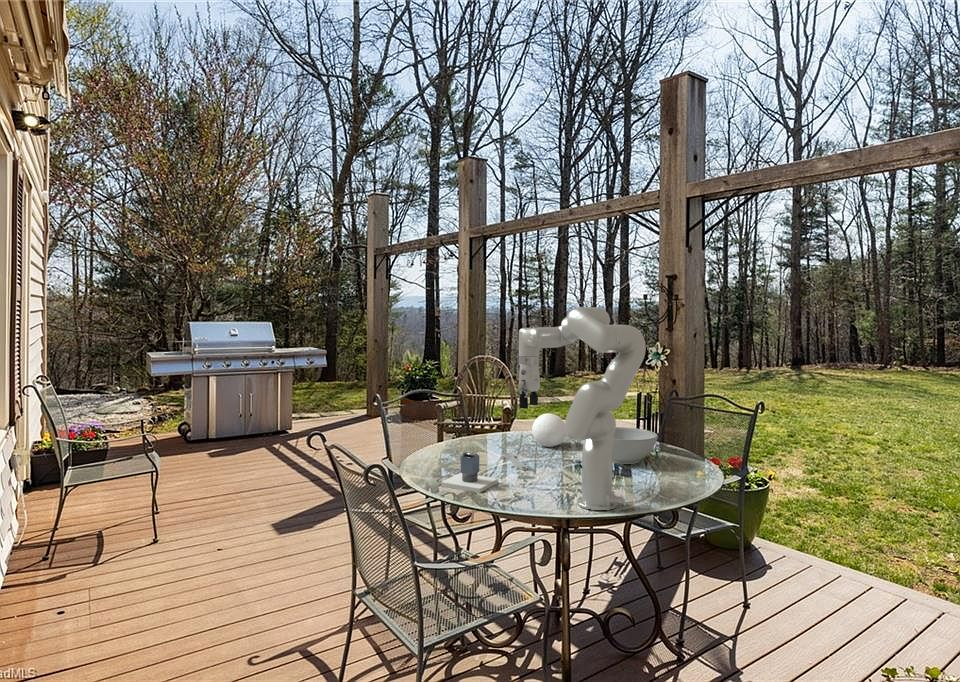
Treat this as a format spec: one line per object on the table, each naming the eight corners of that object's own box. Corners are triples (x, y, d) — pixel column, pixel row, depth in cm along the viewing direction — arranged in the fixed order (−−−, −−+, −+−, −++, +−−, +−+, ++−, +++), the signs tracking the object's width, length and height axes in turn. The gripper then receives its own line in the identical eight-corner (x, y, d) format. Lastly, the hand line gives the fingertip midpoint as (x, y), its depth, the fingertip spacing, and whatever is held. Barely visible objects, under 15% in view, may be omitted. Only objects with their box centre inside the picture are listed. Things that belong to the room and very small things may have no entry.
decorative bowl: (580, 460, 234) (580, 432, 234) (616, 450, 252) (616, 424, 252) (634, 473, 214) (634, 442, 214) (669, 462, 232) (670, 433, 232)
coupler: (479, 471, 200) (479, 452, 199) (472, 474, 195) (472, 455, 195) (467, 469, 202) (467, 451, 202) (460, 472, 197) (460, 454, 197)
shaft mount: (498, 482, 201) (498, 456, 201) (479, 492, 189) (479, 465, 188) (460, 476, 209) (460, 451, 208) (441, 486, 196) (441, 459, 196)
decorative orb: (530, 450, 251) (531, 416, 251) (524, 442, 269) (524, 410, 268) (573, 450, 253) (573, 416, 252) (564, 441, 270) (564, 409, 270)
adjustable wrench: (528, 471, 218) (528, 467, 218) (513, 472, 217) (513, 468, 217) (513, 456, 243) (513, 452, 242) (498, 456, 241) (498, 452, 241)
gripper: (529, 362, 193) (529, 410, 194) (546, 359, 209) (546, 404, 209) (510, 362, 197) (510, 409, 197) (528, 359, 212) (528, 403, 213)
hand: (528, 406), depth 203 cm, fingers open, 9 cm apart
